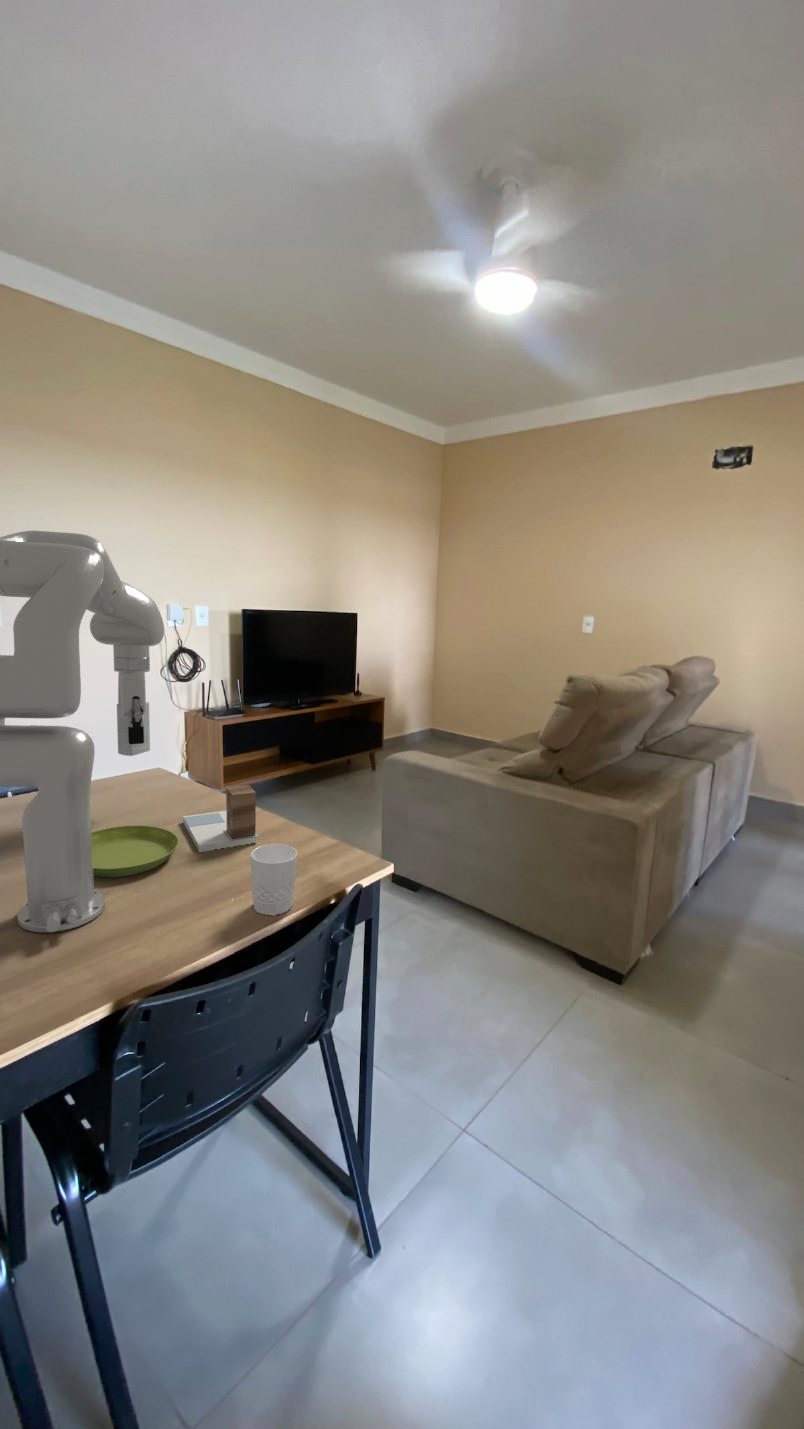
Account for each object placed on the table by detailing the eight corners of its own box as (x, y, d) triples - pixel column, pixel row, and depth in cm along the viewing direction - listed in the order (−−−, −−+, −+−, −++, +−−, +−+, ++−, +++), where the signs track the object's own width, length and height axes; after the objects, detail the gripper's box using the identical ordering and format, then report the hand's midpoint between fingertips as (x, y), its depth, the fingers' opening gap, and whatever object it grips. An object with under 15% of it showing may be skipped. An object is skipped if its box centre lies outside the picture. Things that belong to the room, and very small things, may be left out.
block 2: (255, 835, 129) (255, 814, 128) (232, 839, 127) (232, 817, 126) (248, 827, 134) (249, 806, 133) (226, 830, 131) (226, 809, 130)
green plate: (60, 891, 105) (59, 875, 104) (68, 845, 123) (67, 831, 123) (184, 874, 114) (183, 858, 113) (174, 834, 132) (174, 820, 132)
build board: (259, 843, 129) (259, 836, 129) (199, 852, 123) (199, 845, 123) (237, 815, 145) (237, 808, 144) (182, 822, 138) (182, 815, 138)
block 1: (255, 814, 128) (255, 792, 127) (232, 817, 126) (232, 794, 125) (248, 806, 133) (249, 785, 132) (226, 809, 130) (226, 787, 129)
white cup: (247, 898, 106) (248, 846, 104) (291, 892, 109) (292, 842, 107) (252, 920, 99) (253, 865, 97) (299, 914, 102) (301, 860, 100)
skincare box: (136, 749, 143) (135, 699, 141) (151, 751, 142) (150, 701, 140) (116, 754, 137) (115, 703, 135) (132, 757, 136) (130, 705, 134)
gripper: (109, 660, 141) (112, 733, 144) (118, 669, 127) (121, 749, 130) (143, 660, 145) (145, 731, 148) (155, 669, 130) (157, 747, 134)
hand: (134, 739), depth 139 cm, fingers closed on skincare box, 6 cm apart
